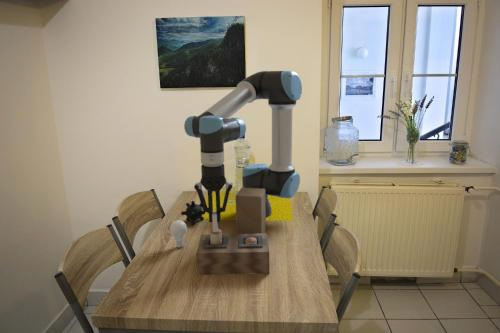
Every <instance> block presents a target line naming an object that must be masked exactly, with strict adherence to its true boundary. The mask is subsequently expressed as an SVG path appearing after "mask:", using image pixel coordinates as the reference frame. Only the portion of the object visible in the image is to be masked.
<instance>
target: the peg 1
mask: <svg viewBox="0 0 500 333" xmlns="http://www.w3.org/2000/svg"><path fill="white" fill-rule="evenodd" d="M209 234H210V245H222V234H223V233H222V229H220V228H218V231H217V232H213V228H212V229H211V230H210V231H209Z"/></svg>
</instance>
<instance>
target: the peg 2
mask: <svg viewBox="0 0 500 333" xmlns="http://www.w3.org/2000/svg"><path fill="white" fill-rule="evenodd" d="M245 244H257V240H256V238H254V237H248V238H246V239H245Z"/></svg>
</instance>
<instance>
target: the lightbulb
mask: <svg viewBox="0 0 500 333" xmlns="http://www.w3.org/2000/svg"><path fill="white" fill-rule="evenodd" d="M169 232H170V234H171V236H173V238H174V240H175V247H176V248H179V249H181V248H182V247H184V237H185V235H186V233H187V232H188V226H187V224H186V223H185V222H184V221H183V220H181V219H177V220H174V221H172V223H171V224H170V226H169Z"/></svg>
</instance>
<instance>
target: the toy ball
mask: <svg viewBox="0 0 500 333" xmlns="http://www.w3.org/2000/svg"><path fill="white" fill-rule="evenodd" d="M185 206H186V209H185V211H181V212H180V214H181V216H185V217H186V218H185V219H186V221H191V223H190V224H191V225H192V226H195V224H196V221H198V220H201V221H204V219H205V218H204V217H203V216H204V215H205V214H206V212H203V209H202V205H201V202H199V204H197V203H195V200H192V201H191V202H190V203H189V202H186V203H185Z"/></svg>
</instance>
